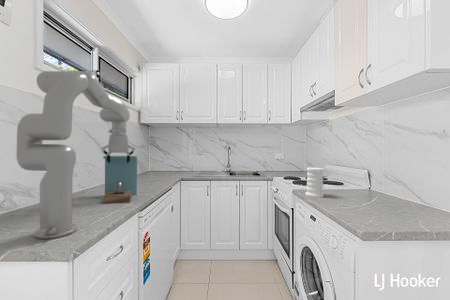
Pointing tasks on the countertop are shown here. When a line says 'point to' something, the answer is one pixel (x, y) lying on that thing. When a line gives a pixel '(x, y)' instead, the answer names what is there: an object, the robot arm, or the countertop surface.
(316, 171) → the decorative container
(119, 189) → the peg
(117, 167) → the teal upright box
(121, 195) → the socket block
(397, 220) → the countertop surface
